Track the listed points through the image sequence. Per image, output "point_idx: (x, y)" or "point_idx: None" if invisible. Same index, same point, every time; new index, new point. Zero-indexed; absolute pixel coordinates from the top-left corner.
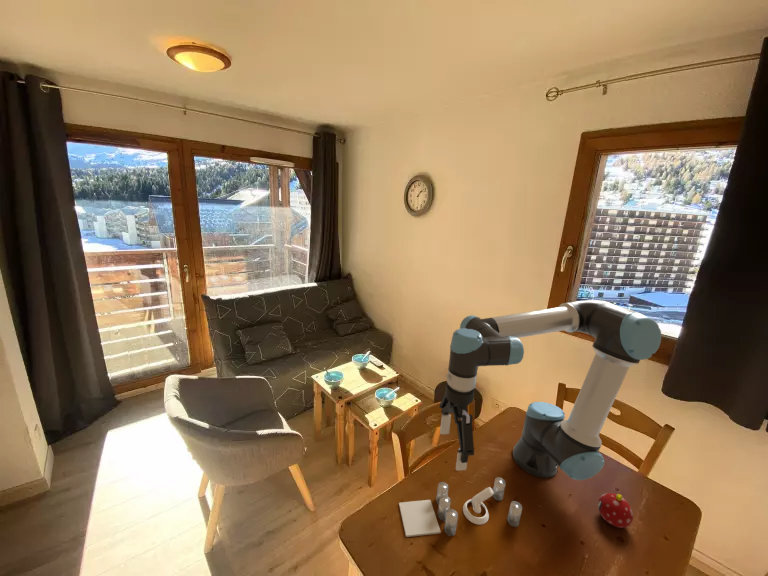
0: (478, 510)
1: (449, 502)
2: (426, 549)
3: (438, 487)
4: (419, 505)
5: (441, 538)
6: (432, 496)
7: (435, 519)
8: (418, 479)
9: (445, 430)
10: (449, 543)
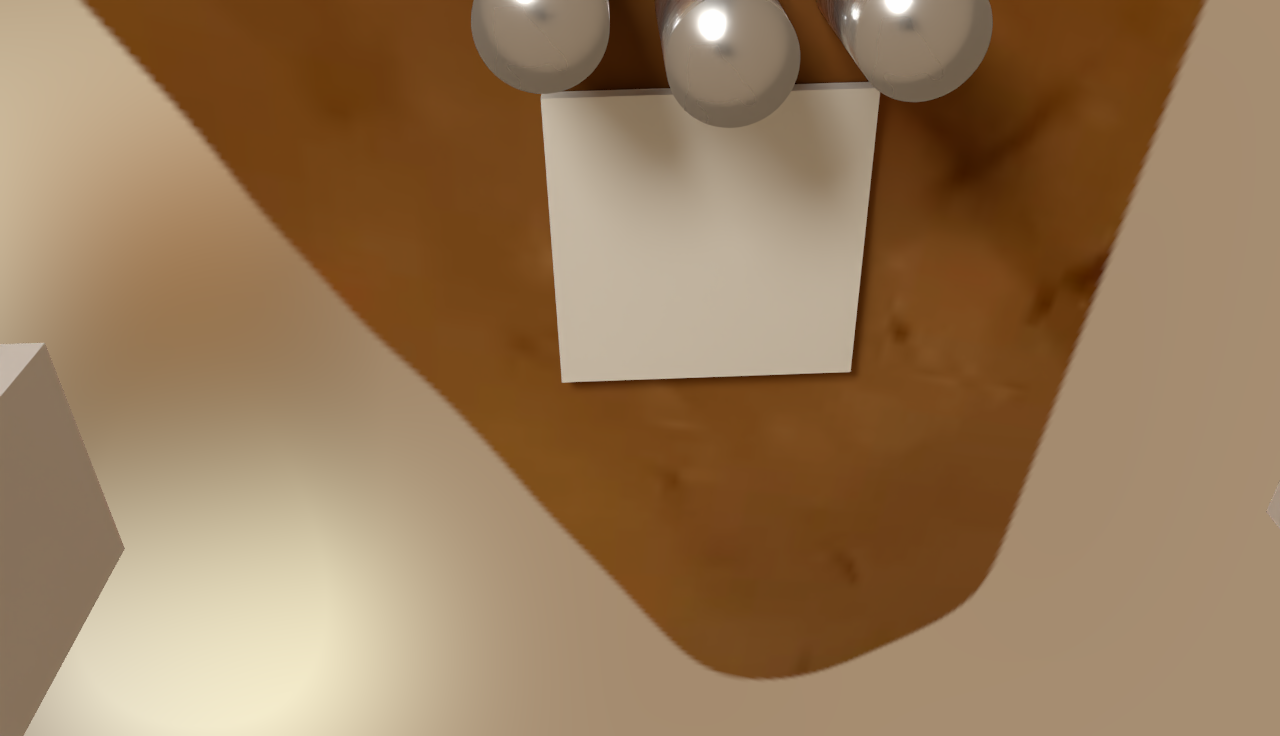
0: None
1: (774, 20)
2: (973, 234)
3: (548, 90)
4: (600, 220)
5: None
6: None
7: None
8: (274, 150)
9: (28, 538)
10: None
